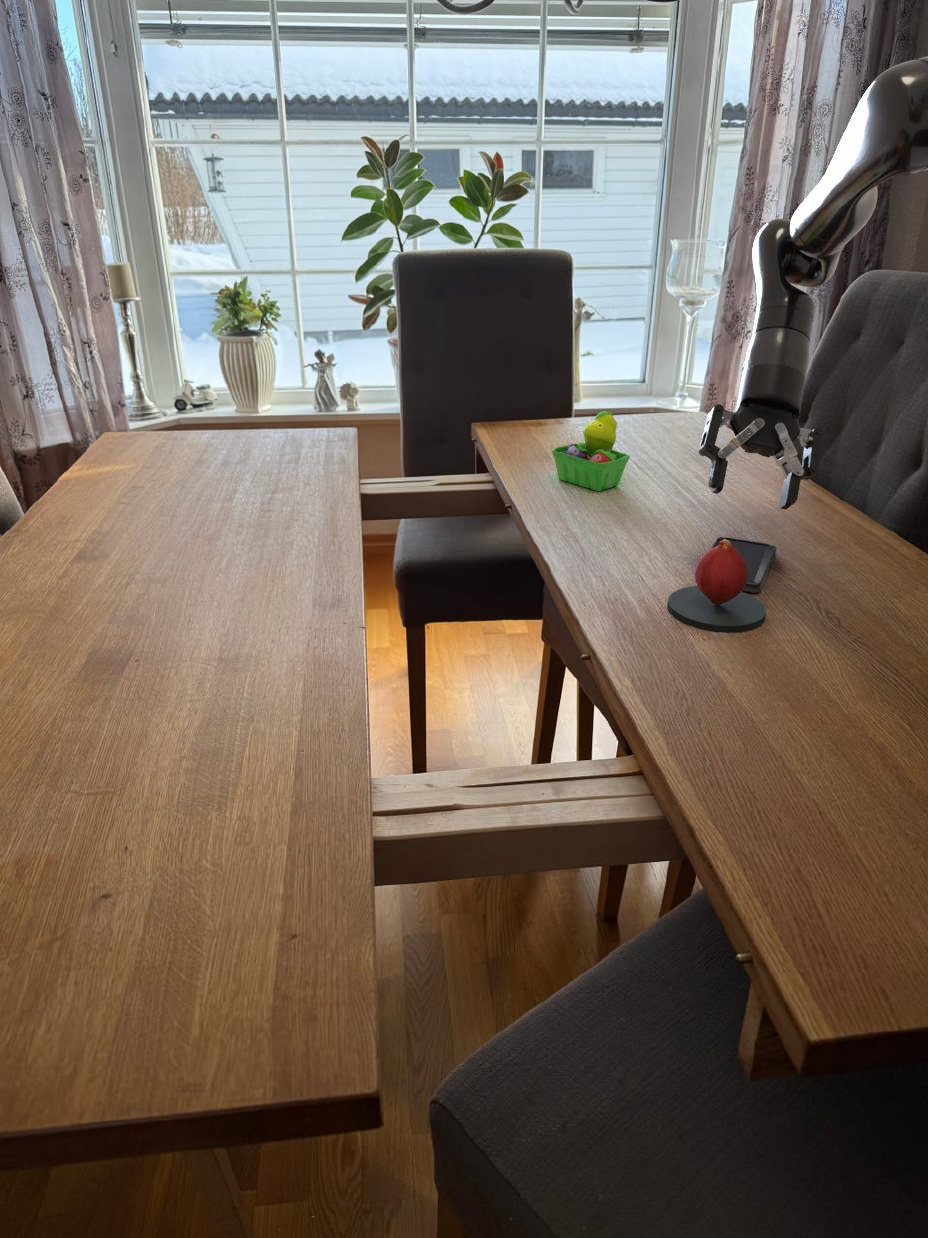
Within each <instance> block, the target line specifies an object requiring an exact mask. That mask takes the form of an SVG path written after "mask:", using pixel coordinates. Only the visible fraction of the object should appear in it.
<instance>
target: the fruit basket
mask: <svg viewBox="0 0 928 1238" xmlns="http://www.w3.org/2000/svg"><path fill="white" fill-rule="evenodd" d="M614 416H615V415H614V413H613V412H608V411H606V410H603V411H599V412H598V414H596V416H595V417H594V418H593V420H592V421H590V422H589V423H588V424H587V425H586V426H585V427H584V428H583V430H582V434H583V438H584V439H583V440H584V442H573V443H571V444H568V445H567V444H566V445H563V446H557V447H554V448H552V449H551V453H552V456H553V459H554V463H555V467H556V472H557V477H558V480H560V481H564V482H568V483H569V484H574V485H577V486H580V487H583V488H585V489H590V490H593V491H597V492H601V491H603V490H607V489H611V488H613V487H618V486H619V484H620V482H621V480H622V477H623V474H624V471H625V468H626V466H627V463H628V462H629V460H630V458H631V455H630V454H627V453H623V452H621V451H617V450H613V448H614V445H615V444H616V438H617V432H616V431H617V427H618V422H617V420H616V419H615V417H614Z"/></svg>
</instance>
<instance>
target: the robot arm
mask: <svg viewBox="0 0 928 1238" xmlns="http://www.w3.org/2000/svg"><path fill="white" fill-rule="evenodd" d="M831 158H832V159H831V160H830V162H829V165H828V167H827V169H826V171H825V173H824V175H823V176H822V177H821V179H820V180H819V181H818V183H817V184H816V185H815V187H813V188H812V190H811V191H810V192H809V193H808V195H807V196H806V197H805V198H804V199H803V201H802V202H801V203H800V204H799V206H798V207H797V209H796V210H795V211H794V213H793V215H792V217H791V219H786V218H773V219H772V220H770V221H768V222H767V223H765V224H764V225H763V226H762V227H761V229H760V230H759V231H758V233H757V235H756V236H755V239H754V241H753V246H752V249H751V251H752V252H751V268H752V276H753V283H754V291H755V314H754V320H753V325H752V331H751V334H750V335H751V336H750V340H749V344H748V347H747V350H746V353H745V357H744V362H743V364H742V368H741V370H742V371H741V372H742V374H741V378H740V384H739V388H738V394H737V398H736V399H737V400H736V404H735V406H736V407H735V410H734V411H731V410H727V409H725V408H724V405H722V404H720V403H718V404H715V406H714V407H712V409H711V410H710V411H709V412H708V414H707V418H706V420H705V424H704V427H703V432H702V435H701V439H700V443H699V448H698V454H699V455H700V456H701V457H706V458H708V459H709V460H710V462H711V467H710V472H709V477H708V488H711V493H713V494H717V495H718V494H719V493H721V492H722V491H723V489H724V485H725V480H726V474H727V468H728V464H729V461H728V460H727V458H728V457H729V456H731V455H732V454H733V453H734V452H735V451H736V450H738V449H739V448H741V449H742V450H744V453H747V454H758V455H760V456H761V457H765V458H771V457H772V458H773V459H774V461H775V463H776V466H778V467H780V468H781V470H782V472H783V474H784V477H785V478H786V479H783V481H782V488H781V494H780V500H779V504H778V508H779V509H781V510H787V509H789V508H791V506H792V505H794V504H795V503H797V500H798V498H799V491H800V485H801V481H802V480H804V481H807V480H808V481H809V480H810V479H812V477H814V476H816V475H818V474H819V473H820V468H821V467H820V466H821V457H822V449H823V439H824V430H823V428H821V427H819V426H818V427H817V426H816V427H815V428H814V429H810V428H804V427H801V425H800V424H799V418H800V413H801V408H802V401H803V396H804V389H805V385H806V381H807V380H806V379H807V374H808V367H809V361H810V346H811V345H810V344H811V338H812V332H813V327H814V323H815V316H816V303H815V300H814V299H813V297H812V296H811V295H810V294H809V293H807V292H806V291H803V290H802V289H800V288H798V287H797V286H800V287H804V288H816V287H820V286H823V285H824V284H826V283H827V282H829V281H830V280H831V278H832V277H833V276H834V274H835V271H836V270H837V267H838V264H839V261H840V259H841V256H842V255H841V254H842V251H843V250H844V248H845V246H846V245H847V244H848V243H849V242H850V241H851V240H852V239H853V238H854V237H855V236H856V235H857V234H858V233H859V232H861V230H862V229H863V228H864V227H865V226H866V224H868V222H869V220H870V219H871V217H872V216H873V214H874V211H875V209H876V207H877V202H878V197H879V196H878V193H879V191H878V186H879V185H880V184H882V183H883V182H886V181H887V180H890V179H892V178H895V177H899V176H910V175H914V174H918V173H921V172H925V171H928V55H927V56H923V57H919V58H915V59H911V60H907V61H904V62H901V63H897V64H896V65H894V66H891V67H889V68H887V69H886V70H884V71H883V72H881V73H880V74H879V75H877V76H876V77H875V78H874V80H873V81H872V82H871V84H870V85H869V86H868V87H867V88H866V90H865V92H864V93H863V95H862V96H861V99H860V100H859V101H858V104H857V106H856V107H855V109H854V111H853V114H852V116H851V118H850V120H849V122H848V124H847V126H846V128H845V130H844V132H843V134H842V137H841V138H840V140H839V143H838V145H837V147H836V149H835V152H834V154H833V156H832V157H831ZM794 285H795V286H794ZM727 422H729V426H730V428H731V430H732V432H733V434H734V436H735V437H733V438H732V439H731V440H730V441H728V442H727V443H726V444H725V445H724V446H722V447H719V446H717V445H716V443H717V438H718V434H719V431H720V428H722V427H723V426H725V425H726V423H727ZM796 439H799V441H800V446H801V447H802V448H803V453H802V462H801V461H800V459H799V458H798V456H799V455H798V450H797V449H796V447H795V445H794V442H793V441H795V440H796Z"/></svg>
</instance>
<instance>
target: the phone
mask: <svg viewBox="0 0 928 1238" xmlns="http://www.w3.org/2000/svg"><path fill="white" fill-rule="evenodd" d="M722 540H728V541H729V542H730V543H731V545H732V547H734V548H735V549H736V550H737V551H738V552H739V553H740V554H741V556H742V557H743V558H744V560H745V562H746V565H747V570H748V580H747V583H746V586H745V587H744V589H743V590H742V591H741V592H744V593H749V594H750V593H752V594H757V593H760V592H761V591H762V589H763V586H764V584H765V581H766V579H767V577H768V575H769V572H770V569H771V567H772V564H773V563H774V560H775V557H776V554H777V546H775V545H774V544H770V543H765V542H760V541H753V540H746V539H740V538H735V537H728V536H720V537H717V538H716V540H715V542H714V543H713V545H712V546H711V548H710V549H712V548H714V547H716V546H719V545H720V544H719V542H721V541H722Z"/></svg>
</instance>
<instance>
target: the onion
mask: <svg viewBox="0 0 928 1238" xmlns="http://www.w3.org/2000/svg"><path fill="white" fill-rule="evenodd" d="M719 544H720V545H719V546H716V547H714V548H712V547H711V548H712V549H711V548H710V549H709V550H707V551H705V552H704V553H703V555H702V556H701V557H700V559H699V560H698V562H697V564H696V565H695V566H696V567H695V570H694V581H695V584H696V586H697V587H698V589H699V590H700V591H701V592H702V593H703V594H704V595H705V596H706V597H707V598H708V599H709V600H710V601H711V602H712V603H713V604H715V605H721V604H723V603H725V602H727V601H729V600H731V599H733V598H734V597H736V596H737V595H739V594H740V593H741V592H743V591H742V590H743V589H744V587H745V586H746V583H747V580H748V570H747V565H746V562H745V560H744V558H743V557H742V556H741V554H740V553H739V552H738V551H737V550H736V549H735V548H734V547H732V545H731V543H730V542H729V541H728V540H722V541H721V542H719Z"/></svg>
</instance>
